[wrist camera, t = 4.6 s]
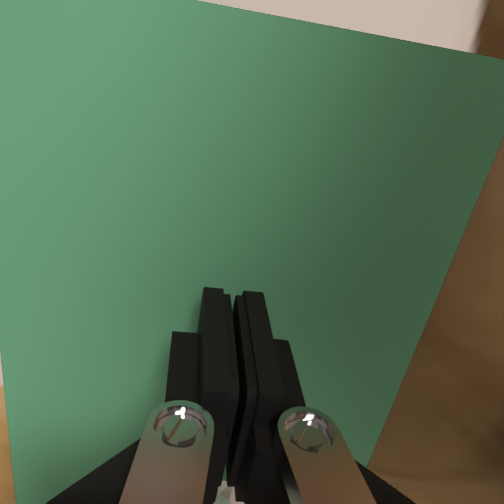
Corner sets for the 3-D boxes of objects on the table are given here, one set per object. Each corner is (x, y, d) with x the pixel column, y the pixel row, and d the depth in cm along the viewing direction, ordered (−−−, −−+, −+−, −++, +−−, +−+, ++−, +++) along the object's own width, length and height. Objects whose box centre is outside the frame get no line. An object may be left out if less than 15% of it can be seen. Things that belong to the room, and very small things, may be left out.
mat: (14, -32, 12) (-100, -59, 7) (469, 55, 14) (595, 74, 9) (49, 572, 24) (14, 698, 20) (288, 570, 26) (305, 684, 22)
